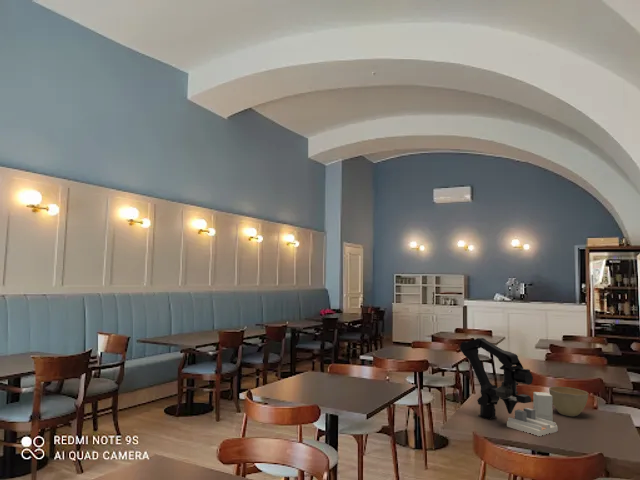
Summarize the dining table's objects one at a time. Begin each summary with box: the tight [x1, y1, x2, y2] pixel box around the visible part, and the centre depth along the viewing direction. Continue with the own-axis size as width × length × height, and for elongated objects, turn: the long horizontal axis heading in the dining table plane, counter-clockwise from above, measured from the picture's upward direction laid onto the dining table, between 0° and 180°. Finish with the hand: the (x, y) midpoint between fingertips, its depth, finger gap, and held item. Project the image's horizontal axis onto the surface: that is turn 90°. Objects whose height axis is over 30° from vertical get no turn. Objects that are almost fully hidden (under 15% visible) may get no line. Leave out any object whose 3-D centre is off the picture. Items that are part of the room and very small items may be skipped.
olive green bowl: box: [548, 386, 589, 417], centre depth 247 cm, size 18×18×12 cm
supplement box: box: [532, 391, 554, 422], centre depth 235 cm, size 7×7×13 cm
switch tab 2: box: [523, 407, 535, 420], centre depth 225 cm, size 4×3×5 cm
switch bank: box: [506, 416, 559, 437], centre depth 220 cm, size 16×15×4 cm
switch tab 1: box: [514, 409, 527, 422], centre depth 221 cm, size 4×3×5 cm
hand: (509, 413), depth 225 cm, fingers closed
